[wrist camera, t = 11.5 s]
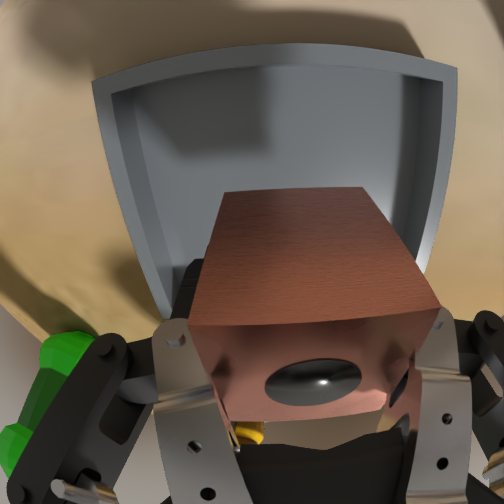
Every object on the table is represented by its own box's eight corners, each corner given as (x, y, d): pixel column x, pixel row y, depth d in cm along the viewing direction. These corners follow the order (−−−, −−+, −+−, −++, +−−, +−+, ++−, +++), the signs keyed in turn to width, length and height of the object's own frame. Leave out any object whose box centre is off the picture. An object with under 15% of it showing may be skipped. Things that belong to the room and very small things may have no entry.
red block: (224, 192, 10) (186, 326, 5) (362, 186, 9) (442, 308, 5) (239, 295, 13) (227, 422, 8) (348, 289, 12) (380, 410, 7)
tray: (118, 77, 12) (91, 81, 10) (428, 65, 11) (457, 67, 8) (172, 290, 22) (162, 318, 19) (398, 279, 20) (411, 306, 18)
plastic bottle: (105, 374, 32) (63, 531, 12) (44, 329, 27) (-19, 491, 7) (142, 359, 28) (97, 561, 8) (67, 302, 24) (-16, 518, 3)
